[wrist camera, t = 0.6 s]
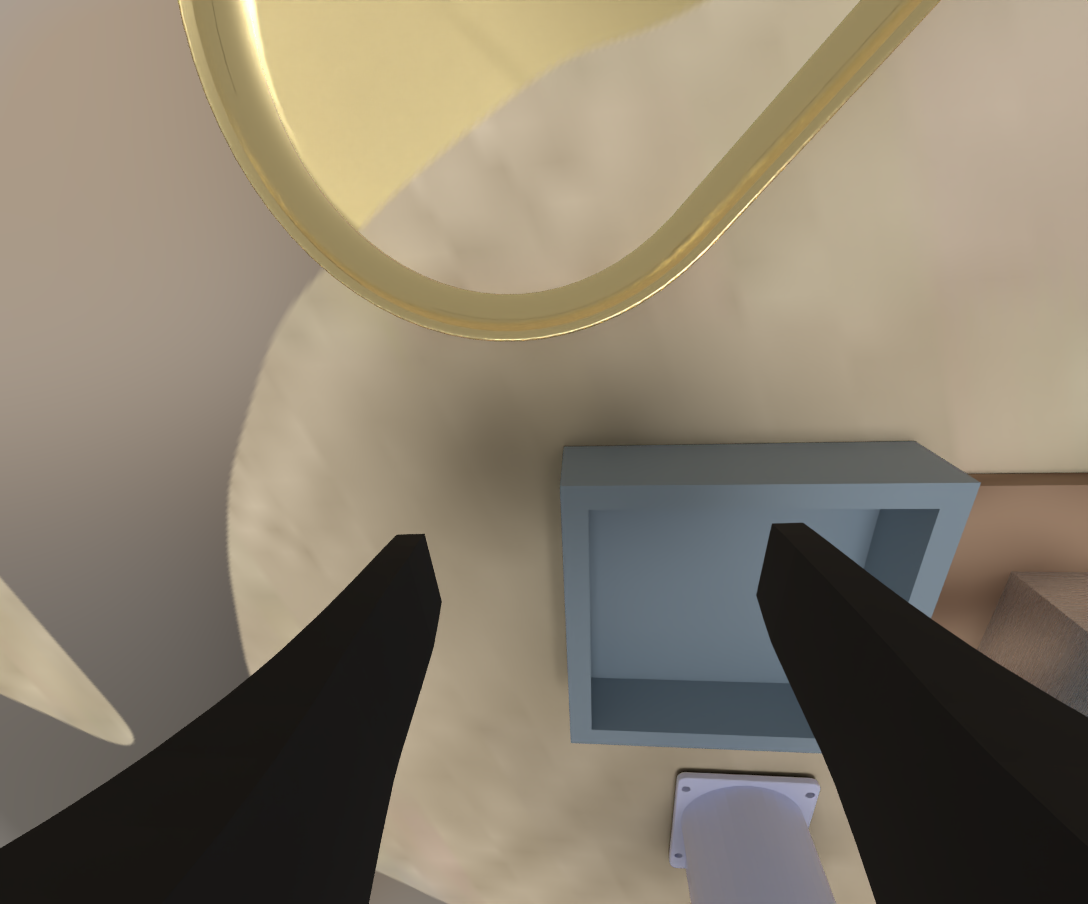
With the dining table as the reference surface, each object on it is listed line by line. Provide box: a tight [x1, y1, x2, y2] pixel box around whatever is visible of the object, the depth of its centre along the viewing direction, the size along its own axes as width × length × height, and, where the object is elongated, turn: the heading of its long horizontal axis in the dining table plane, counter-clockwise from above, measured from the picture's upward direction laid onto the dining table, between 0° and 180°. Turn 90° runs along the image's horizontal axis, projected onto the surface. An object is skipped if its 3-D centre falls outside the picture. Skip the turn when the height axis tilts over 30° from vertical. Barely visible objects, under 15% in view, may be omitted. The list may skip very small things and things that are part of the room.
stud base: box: [931, 473, 1088, 649], centre depth 20 cm, size 13×13×4 cm
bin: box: [560, 441, 981, 753], centre depth 21 cm, size 14×14×4 cm
